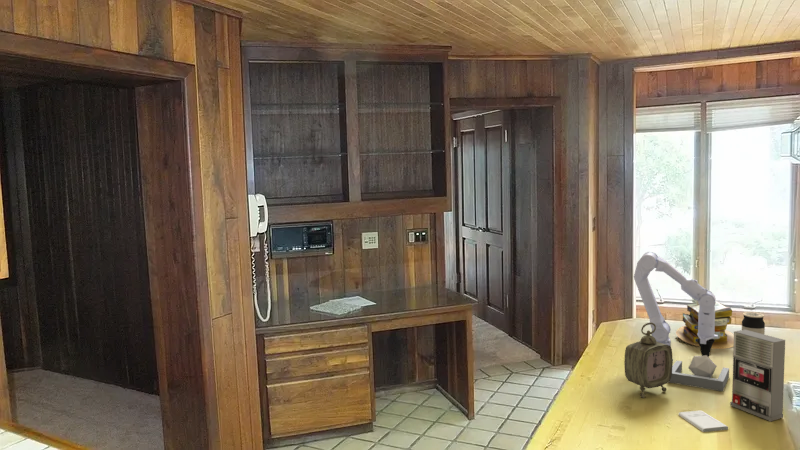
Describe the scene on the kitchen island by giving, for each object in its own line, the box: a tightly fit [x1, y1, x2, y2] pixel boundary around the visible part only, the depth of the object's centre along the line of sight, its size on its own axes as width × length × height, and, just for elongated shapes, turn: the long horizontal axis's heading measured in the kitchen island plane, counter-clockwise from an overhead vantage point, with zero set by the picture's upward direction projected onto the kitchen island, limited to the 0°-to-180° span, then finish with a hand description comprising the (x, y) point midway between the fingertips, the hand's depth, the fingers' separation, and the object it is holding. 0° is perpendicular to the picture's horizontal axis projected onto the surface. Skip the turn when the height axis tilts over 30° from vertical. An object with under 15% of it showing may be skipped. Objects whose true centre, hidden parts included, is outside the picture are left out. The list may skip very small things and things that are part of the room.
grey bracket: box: [668, 360, 730, 392], centre depth 224 cm, size 18×16×4 cm
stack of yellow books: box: [675, 300, 734, 350], centre depth 270 cm, size 25×25×17 cm
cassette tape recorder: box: [729, 329, 786, 422], centre depth 193 cm, size 14×6×25 cm, turn 23°
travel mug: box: [741, 311, 766, 335], centre depth 245 cm, size 8×8×18 cm
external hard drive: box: [678, 409, 729, 433], centre depth 189 cm, size 2×8×12 cm
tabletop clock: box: [623, 322, 674, 399], centre depth 212 cm, size 14×9×25 cm, turn 117°
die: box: [688, 355, 717, 378], centre depth 226 cm, size 8×9×10 cm
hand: (705, 357), depth 237 cm, fingers closed
